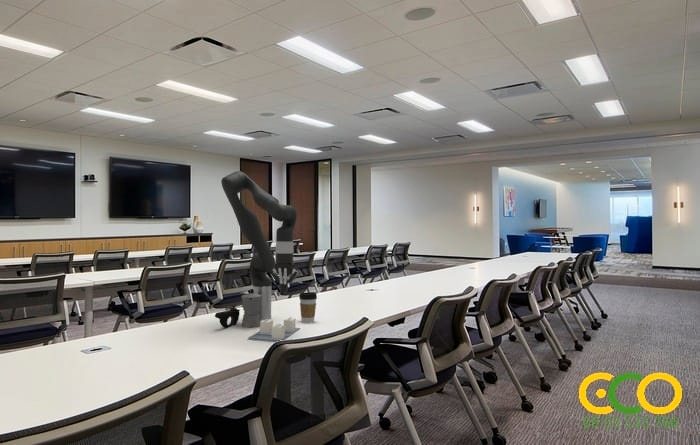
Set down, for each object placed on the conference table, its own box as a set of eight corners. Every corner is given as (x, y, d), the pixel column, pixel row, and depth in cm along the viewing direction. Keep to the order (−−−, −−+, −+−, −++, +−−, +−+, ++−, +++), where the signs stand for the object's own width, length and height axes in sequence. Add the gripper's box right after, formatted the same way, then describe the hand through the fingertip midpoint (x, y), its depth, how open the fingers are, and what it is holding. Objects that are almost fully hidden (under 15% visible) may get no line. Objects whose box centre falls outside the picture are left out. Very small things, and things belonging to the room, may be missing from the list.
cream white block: (260, 333, 188) (260, 320, 188) (264, 331, 192) (264, 318, 192) (268, 334, 187) (269, 321, 187) (272, 332, 191) (272, 319, 191)
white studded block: (283, 331, 193) (283, 318, 193) (286, 329, 197) (287, 316, 197) (292, 332, 192) (292, 319, 192) (295, 329, 196) (295, 317, 196)
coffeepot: (261, 331, 196) (261, 291, 196) (239, 332, 195) (239, 291, 195) (263, 323, 212) (263, 286, 212) (242, 324, 210) (243, 286, 210)
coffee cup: (315, 326, 209) (316, 294, 209) (297, 325, 209) (298, 294, 209) (317, 322, 217) (317, 291, 217) (300, 321, 217) (300, 291, 217)
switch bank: (246, 342, 179) (246, 338, 179) (270, 328, 202) (270, 325, 202) (280, 345, 176) (280, 341, 176) (300, 331, 199) (300, 327, 199)
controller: (241, 326, 206) (241, 305, 206) (219, 331, 195) (219, 309, 195) (235, 325, 208) (235, 303, 208) (213, 330, 198) (213, 307, 198)
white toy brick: (271, 339, 180) (271, 325, 180) (275, 336, 184) (275, 323, 184) (280, 339, 179) (281, 325, 179) (284, 337, 183) (284, 323, 183)
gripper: (266, 252, 186) (265, 293, 186) (296, 253, 183) (295, 295, 183) (273, 250, 193) (272, 290, 193) (302, 251, 190) (301, 292, 190)
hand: (284, 292), depth 188 cm, fingers closed
